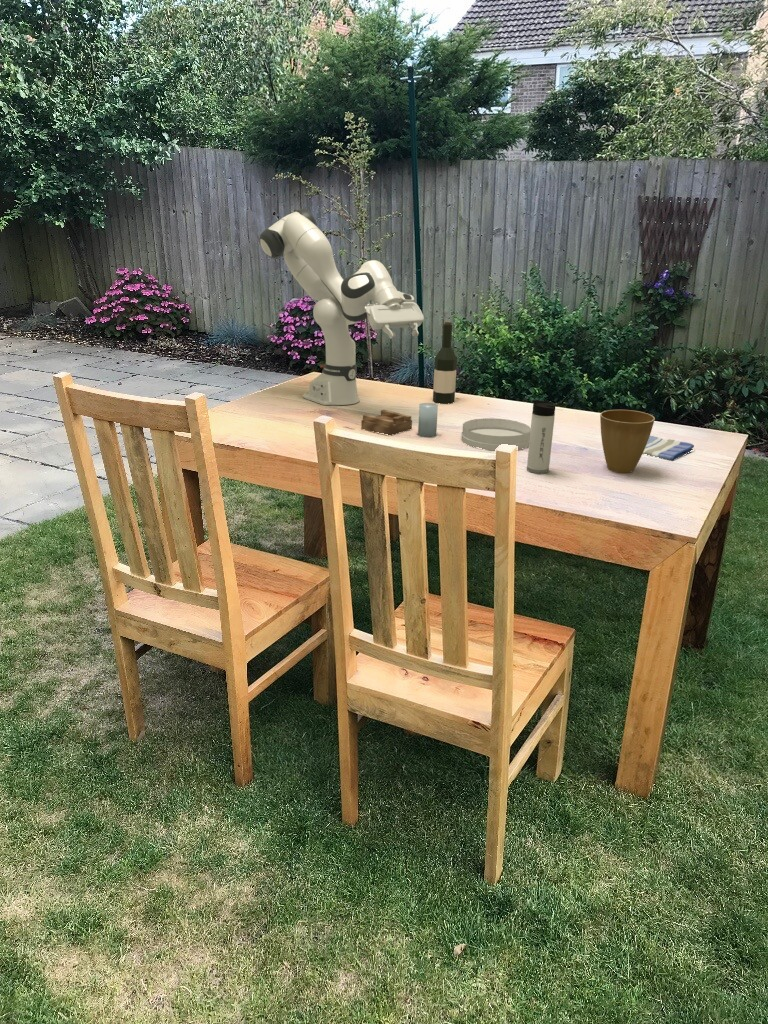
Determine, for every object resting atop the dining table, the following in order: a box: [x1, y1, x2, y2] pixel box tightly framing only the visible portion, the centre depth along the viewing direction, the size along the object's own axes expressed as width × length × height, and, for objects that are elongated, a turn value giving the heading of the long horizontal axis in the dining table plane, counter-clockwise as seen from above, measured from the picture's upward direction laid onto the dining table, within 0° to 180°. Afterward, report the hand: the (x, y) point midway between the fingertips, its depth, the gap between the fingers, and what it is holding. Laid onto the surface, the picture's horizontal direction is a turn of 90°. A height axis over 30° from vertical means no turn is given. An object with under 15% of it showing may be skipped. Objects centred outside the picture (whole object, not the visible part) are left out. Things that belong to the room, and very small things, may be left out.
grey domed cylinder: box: [417, 402, 439, 438], centre depth 255 cm, size 6×6×10 cm
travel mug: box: [526, 399, 556, 475], centre depth 221 cm, size 6×7×20 cm
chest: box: [360, 409, 413, 436], centre depth 261 cm, size 12×12×5 cm
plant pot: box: [599, 409, 656, 474], centre depth 225 cm, size 15×15×16 cm
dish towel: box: [642, 435, 695, 461], centre depth 249 cm, size 17×24×3 cm
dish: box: [460, 417, 531, 452], centre depth 251 cm, size 22×22×5 cm
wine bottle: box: [432, 321, 458, 405], centre depth 295 cm, size 8×8×30 cm
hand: (404, 336), depth 259 cm, fingers open, 8 cm apart
